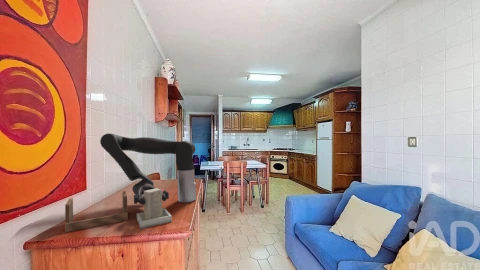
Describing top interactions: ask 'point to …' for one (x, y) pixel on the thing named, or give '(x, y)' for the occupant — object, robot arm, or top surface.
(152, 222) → the dish
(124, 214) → the two-post stand
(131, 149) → the robot arm
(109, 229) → the top surface
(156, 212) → the skincare box
